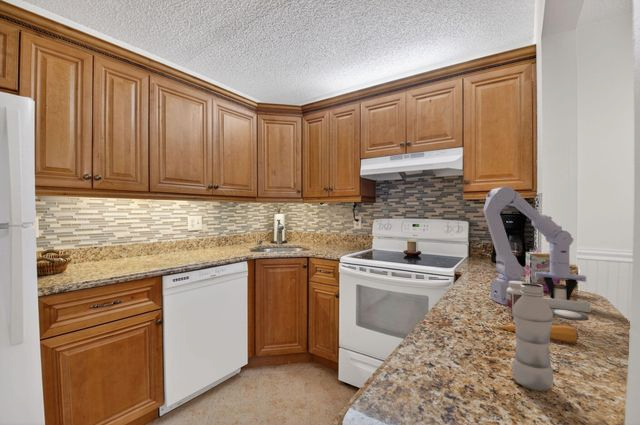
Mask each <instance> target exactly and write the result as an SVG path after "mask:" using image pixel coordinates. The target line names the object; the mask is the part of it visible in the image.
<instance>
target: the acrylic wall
mask: <svg viewBox="0 0 640 425" xmlns="http://www.w3.org/2000/svg"><path fill="white" fill-rule="evenodd" d="M542 299H543V300H544V301H545V302H546V303H547V304H548V306H549V307H550V309H565V310H571V311H576V312H583V313H584V312H585V313H591V303H590V302H586V301H585V302H584V301H577V300H576V301H575V300H559V299H551V297H542Z"/></svg>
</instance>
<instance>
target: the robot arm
mask: <svg viewBox="0 0 640 425" xmlns="http://www.w3.org/2000/svg"><path fill="white" fill-rule="evenodd" d="M485 197H486V200H485V203H484V205H483V215H484V218H485V222H486V224H487V225H486V226H487V228H488V231H489V234H490V237H491V240H492V244H493V247H494V249H495V253H496V255H495V261H496V264H495V270H496V271H497V272H498V275H497V278H494V279H492V280H491V281H490V297H489V299H490V300H491V301H494V302H497V303H498V304H501V305H504V306H507V288H509V287H510V286H509V281H521V282H522V279H521V278H523V275H524V273H525V272H524V268H523V266H522V265H521V264H520V263H519V261H518V258H517V257H516V255H515V254H514V253H513V251H512V248H511V245H510V244H511V243H510V241H509V238H508V236H507V232H506V228H505V226H504V223H503V220H502V216H501V214H500V213H501V212H502V211H503V209H504V208H505V207H506V206H511V207H515V208H516V209H517V210H519V212H521V214H523V215H524V216H526V217H527V218H528V219H529V220H531V226H533V228H535V229H536V230H537V231H538V232H539V233H540V234H541V235H543V237H544V239H545V240H546V242H547V243H549V246H548V247H549V250H548V251H549V253H550V272H535V277H536V278H543V279H544V281H545V283H546V285H547V287H548V290H549V296H550V297H549V298H550V299H554V294H553V283H554V282H553V280H552V279H560V280H564V281H565V285H566V286H567V300H568V301H571V296H572V293H573V291H574V289H575V288H576V286H577V285H578V282H584V283H586V282H587V276H586V275H580V274H572V273H570V265H571V264H570V249H571V248H570V246H571V245H572V243H573V242H574V238H573V237H572V234H571V233H570V232H569V231H567V230H563V227H562V225H558V224H557V223H556V222H555V221H553V220H552V219H553V218H552V217H551V216H550V215H546V214H540V213H539V212H538V211H537V210H536V209H535V208H534V207H533V206H532V205H531V204H529V202H528V201H526V199H525V198H523V196H522V195H521V194H520V193H519V192H518V191H515V189H514V188H512V187H510V185H509V186H508V185H504V186H501V187H495V188H492V189H491V190H490V191H489V192H488V193H487V194H486V196H485ZM557 277H558V278H557Z"/></svg>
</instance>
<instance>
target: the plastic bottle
mask: <svg viewBox="0 0 640 425" xmlns="http://www.w3.org/2000/svg"><path fill="white" fill-rule="evenodd" d="M520 287H521V290H520V293H521V294H522V296H521V297H520V298H519V299H518V300H517V302H516V303H515V304H514V307H513V316H512V317H513V321H514V326H515V329H516V332H515V342H516V343H515V353H514V359H513V362H512V372H513V377H514V379H515V380H516V381H517V383H518V384H519V385H521V386H522V387H525V388H527V389H529V390H532V391H533V390H534V391H539V392H544V391H548V390H549V389H550V388H551V387H552V386H553V383H554V372H553V367H552V365H551V362H552V361H551V355H550V340H551V339H550V331H551V326H553V325H552V324H553V318H554V315H553V314H552V311H551V309H552V308H551V307H549V306H548V304H547V303H546V302H545V301H544V300H543V299H542V298H544V297H545V293H544V292H543V286H542V285H538V284H532V283H526V282H525V283H522V284H521V285H520Z"/></svg>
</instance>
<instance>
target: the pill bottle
mask: <svg viewBox="0 0 640 425" xmlns="http://www.w3.org/2000/svg"><path fill="white" fill-rule="evenodd" d="M522 283H526V281H522V280H521V281H509V286H510V287H509V288H507V305H506V313H507V315H509V316H511V317H514V316H513V307H514V304H515V303H516V302H517V300H518V299H519V298H520V297H521V296H522V294H521V293H520V290H521V287H520V285H521V284H522Z"/></svg>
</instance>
